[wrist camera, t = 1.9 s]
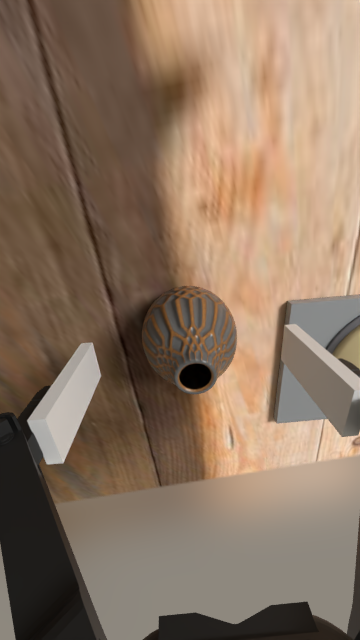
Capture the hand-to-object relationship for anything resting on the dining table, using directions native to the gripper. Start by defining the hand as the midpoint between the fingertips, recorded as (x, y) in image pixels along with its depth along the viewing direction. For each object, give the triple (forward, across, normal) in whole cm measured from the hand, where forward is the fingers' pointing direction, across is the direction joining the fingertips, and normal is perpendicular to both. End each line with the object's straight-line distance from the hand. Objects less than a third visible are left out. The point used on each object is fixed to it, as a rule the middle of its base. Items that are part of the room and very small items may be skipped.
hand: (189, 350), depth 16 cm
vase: (+6, 0, 0) cm, 6 cm away
